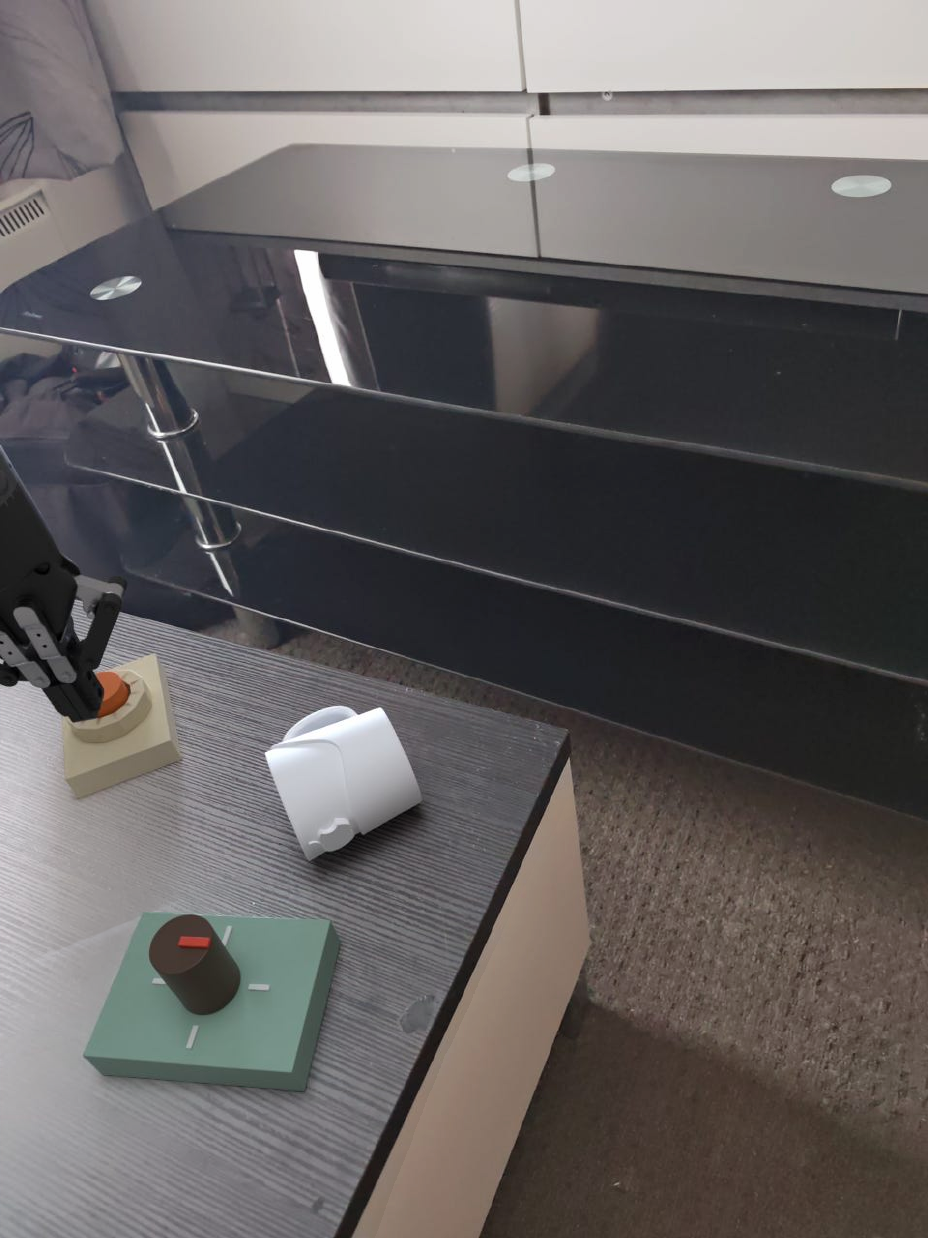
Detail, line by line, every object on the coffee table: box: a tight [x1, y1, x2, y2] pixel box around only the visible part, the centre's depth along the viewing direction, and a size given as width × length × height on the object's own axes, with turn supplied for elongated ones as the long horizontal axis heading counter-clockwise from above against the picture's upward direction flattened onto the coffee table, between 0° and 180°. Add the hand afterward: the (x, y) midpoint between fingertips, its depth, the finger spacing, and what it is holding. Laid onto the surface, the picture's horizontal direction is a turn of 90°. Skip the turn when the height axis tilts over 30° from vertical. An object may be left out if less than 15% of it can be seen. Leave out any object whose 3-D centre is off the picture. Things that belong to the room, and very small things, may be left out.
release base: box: [61, 653, 183, 799], centre depth 81 cm, size 12×9×4 cm
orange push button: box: [95, 670, 129, 718], centre depth 79 cm, size 4×4×2 cm
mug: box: [264, 705, 422, 862], centre depth 70 cm, size 12×9×8 cm
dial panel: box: [82, 911, 342, 1092], centre depth 61 cm, size 14×10×3 cm
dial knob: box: [149, 913, 240, 1015], centre depth 58 cm, size 4×4×6 cm
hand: (88, 711), depth 61 cm, fingers closed
